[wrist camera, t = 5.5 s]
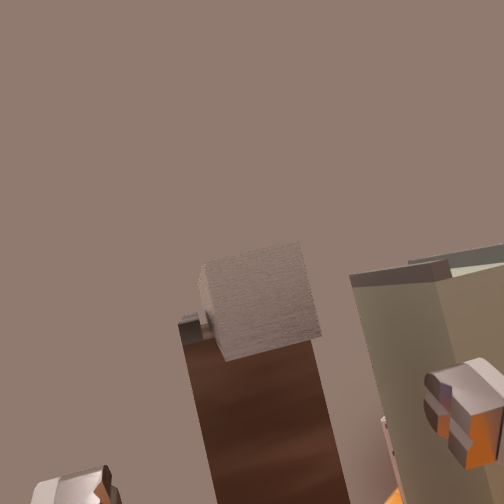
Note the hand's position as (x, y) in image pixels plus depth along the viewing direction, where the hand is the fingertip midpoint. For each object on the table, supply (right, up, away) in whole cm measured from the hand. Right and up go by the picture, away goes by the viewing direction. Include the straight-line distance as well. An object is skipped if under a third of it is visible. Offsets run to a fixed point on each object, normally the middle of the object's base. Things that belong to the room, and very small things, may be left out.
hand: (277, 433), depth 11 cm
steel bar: (-1, 0, +13) cm, 13 cm away
